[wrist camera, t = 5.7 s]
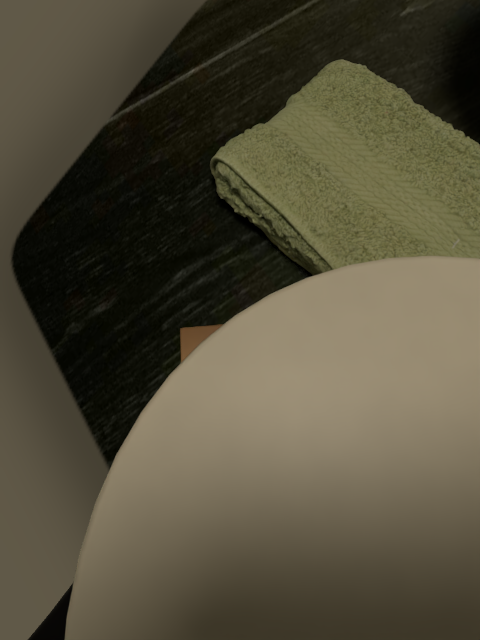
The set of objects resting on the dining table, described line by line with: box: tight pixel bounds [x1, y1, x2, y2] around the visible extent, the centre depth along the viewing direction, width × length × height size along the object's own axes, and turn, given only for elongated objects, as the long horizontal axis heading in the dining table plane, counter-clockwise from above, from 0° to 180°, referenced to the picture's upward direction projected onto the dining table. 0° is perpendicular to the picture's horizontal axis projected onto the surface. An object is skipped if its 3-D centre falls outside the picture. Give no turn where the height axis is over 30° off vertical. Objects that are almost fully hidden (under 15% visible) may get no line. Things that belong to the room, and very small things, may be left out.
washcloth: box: [210, 59, 480, 275], centre depth 22 cm, size 13×18×3 cm
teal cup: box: [65, 256, 480, 640], centre depth 8 cm, size 6×6×12 cm
